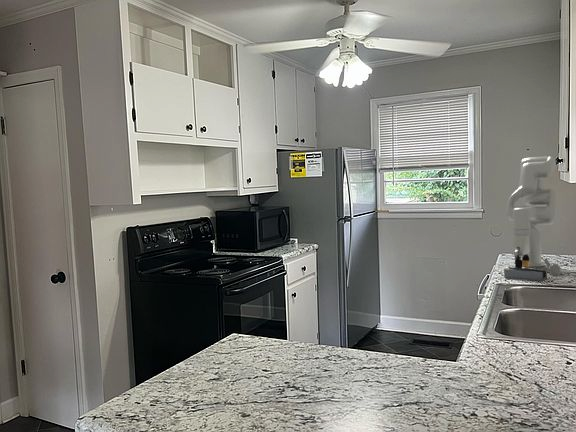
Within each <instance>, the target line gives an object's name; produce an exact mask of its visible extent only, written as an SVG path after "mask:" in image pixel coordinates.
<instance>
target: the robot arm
mask: <svg viewBox="0 0 576 432" xmlns="http://www.w3.org/2000/svg"><path fill="white" fill-rule="evenodd" d="M556 166H557V161H556V159H555V157H554V156H551V155H548V156H547V155H545V156H544V155H543V156H532V157H531V156H530V157H525V158H522V160H521V161H520V166H519V167H520V176H519V182H518V188H517V189H516V190H515V191H514V192H513V193H512V194H511V195H510V196H509V198H508V200H507V205H506V211H505V212H506V213H505V214H506V219H507V220H509V221H512V223H513V224H512V226H513V229H512V231H513V242H512V243H513V244H512V245H513V247H512V255H513V256H514V265H515V266H514V267H516V268H523V267H525V265H522V260H524V261H529V268H533V267H534V268H535V267H537V268H539V267H545V265H546V264H545V262H544V261H542V233H541V230H540V229H539V228H538V227H537V226H538V225H547V226H548V225H553V224H554V223H555V222H556V219H557V208H558V194H557V191H556V190H555V189H554V188H543V184H544V182H543V180H542V179H541V178H544V179H545V178H550V177H551V176H552V175H553V174H554V171H555V170H556ZM521 199H523V202H524V206H523V205H521V206H520V205H517V206H515V204H516V203H517V202H519V200H521Z"/></svg>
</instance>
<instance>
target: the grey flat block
mask: <svg viewBox="0 0 576 432" xmlns="http://www.w3.org/2000/svg"><path fill="white" fill-rule="evenodd" d="M547 271H548V270H547V269H539V268H538V269H537V268H529V269H528V268H525V267H522V268H516V267H515V266H509V267H508V268H504V270H503V272H504V273H503V276H504V278H506V279H507V278H509V279H515V278H516V279H515V280H525V279H527V281H535V280H536V281H537V282H543V281H545V280H547V278H548V272H547Z"/></svg>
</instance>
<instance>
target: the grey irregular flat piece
mask: <svg viewBox="0 0 576 432" xmlns="http://www.w3.org/2000/svg"><path fill="white" fill-rule="evenodd" d="M543 262H544V263H545V265H546V267H547V268H549V267H550V268H549V269H550V271H549V273H550V276H551V275H552V276H561V265H559V264H558V263H552V264H551V263H550V262H549V260H548V258H547V257H545V258H543Z"/></svg>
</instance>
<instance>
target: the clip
mask: <svg viewBox="0 0 576 432" xmlns="http://www.w3.org/2000/svg"><path fill="white" fill-rule="evenodd" d="M521 260H522V259H521ZM522 265H525V266H524V268H528V269H530V267H529V261H524V260H522Z"/></svg>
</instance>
